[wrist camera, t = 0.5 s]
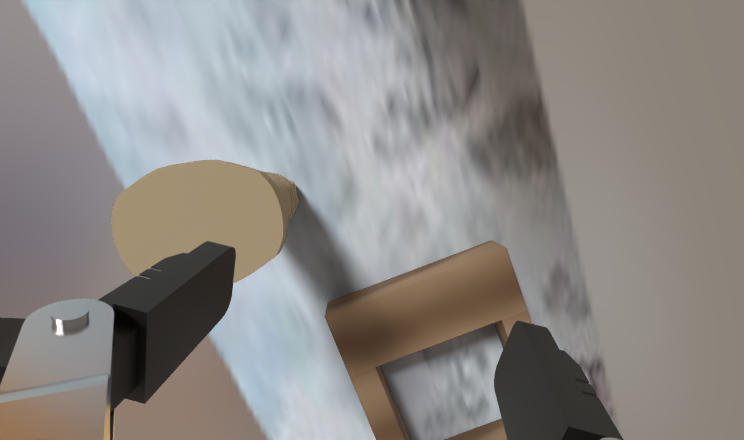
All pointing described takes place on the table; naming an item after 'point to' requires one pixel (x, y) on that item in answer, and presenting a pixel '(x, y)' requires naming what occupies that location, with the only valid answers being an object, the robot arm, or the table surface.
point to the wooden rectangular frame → (423, 325)
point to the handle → (203, 214)
